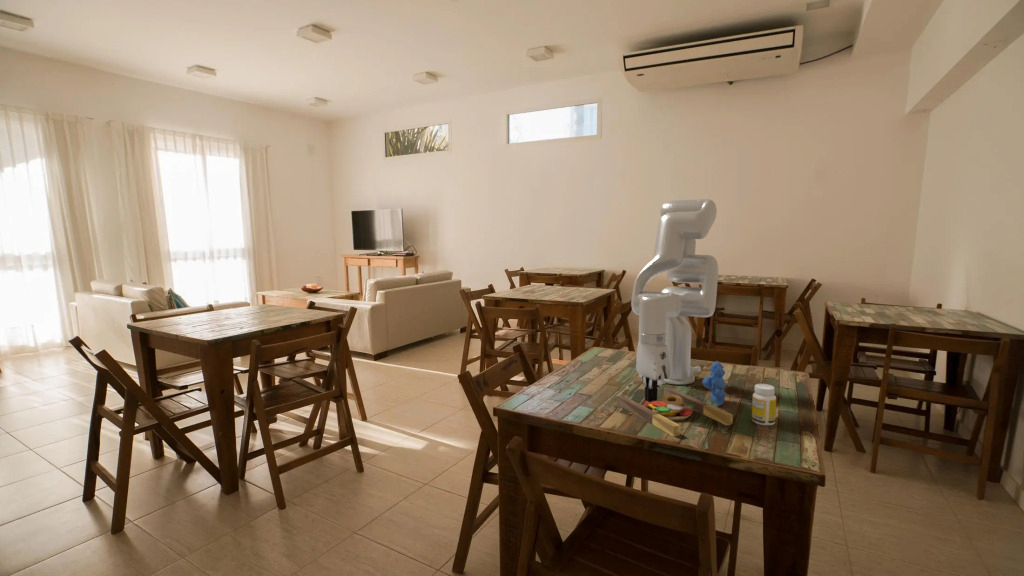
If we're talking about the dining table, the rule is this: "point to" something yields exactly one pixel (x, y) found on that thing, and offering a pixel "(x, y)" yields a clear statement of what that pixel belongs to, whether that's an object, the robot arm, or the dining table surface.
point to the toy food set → (671, 407)
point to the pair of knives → (667, 424)
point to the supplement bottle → (764, 404)
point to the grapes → (716, 383)
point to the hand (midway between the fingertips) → (650, 400)
